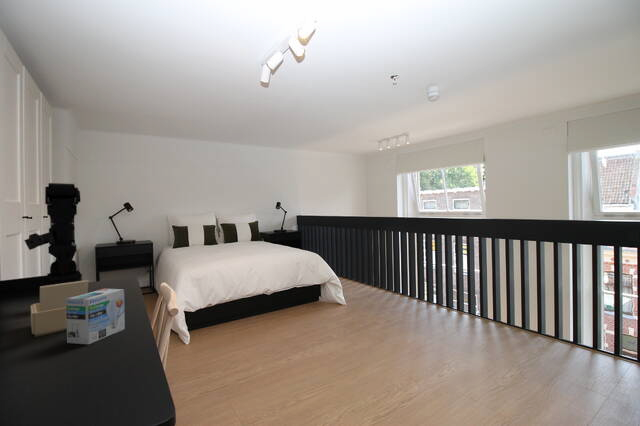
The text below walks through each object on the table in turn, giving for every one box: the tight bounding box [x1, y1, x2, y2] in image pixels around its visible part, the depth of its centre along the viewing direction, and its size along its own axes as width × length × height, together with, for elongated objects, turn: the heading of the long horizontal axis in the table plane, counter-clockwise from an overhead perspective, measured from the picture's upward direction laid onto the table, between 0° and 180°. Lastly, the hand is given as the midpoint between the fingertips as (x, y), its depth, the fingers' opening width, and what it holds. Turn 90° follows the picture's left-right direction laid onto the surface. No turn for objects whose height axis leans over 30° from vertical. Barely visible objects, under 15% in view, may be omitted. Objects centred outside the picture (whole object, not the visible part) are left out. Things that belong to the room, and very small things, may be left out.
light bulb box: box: [66, 288, 126, 345], centre depth 77 cm, size 11×7×11 cm, turn 168°
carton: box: [30, 302, 67, 338], centre depth 86 cm, size 13×12×6 cm
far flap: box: [39, 279, 90, 312], centre depth 80 cm, size 8×10×1 cm
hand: (63, 274), depth 94 cm, fingers closed
